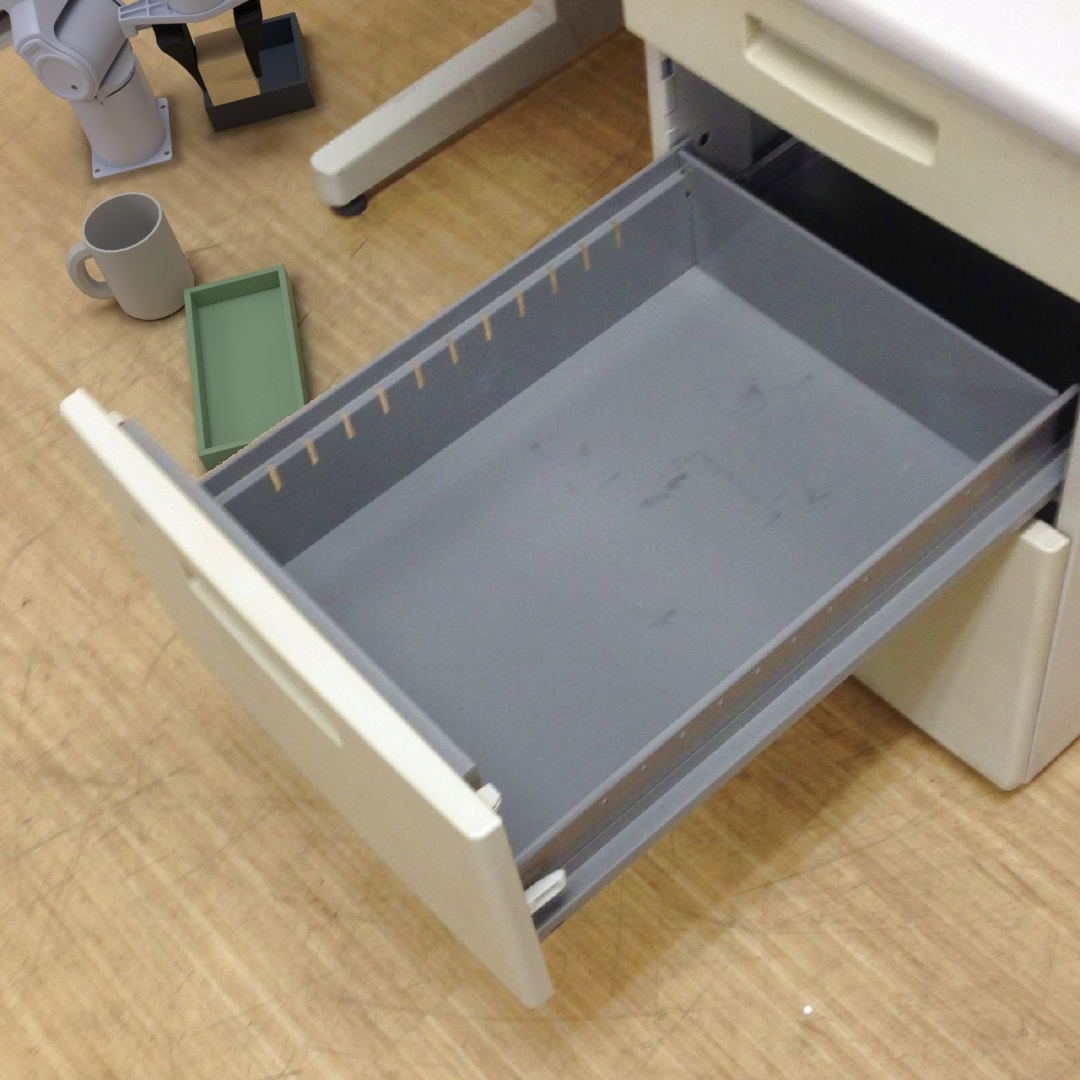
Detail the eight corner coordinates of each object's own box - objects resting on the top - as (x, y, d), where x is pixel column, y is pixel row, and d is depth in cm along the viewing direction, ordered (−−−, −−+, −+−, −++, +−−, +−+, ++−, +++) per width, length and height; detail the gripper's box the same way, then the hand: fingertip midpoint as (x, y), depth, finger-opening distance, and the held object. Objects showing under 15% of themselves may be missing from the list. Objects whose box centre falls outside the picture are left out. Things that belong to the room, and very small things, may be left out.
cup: (201, 308, 136) (166, 237, 129) (94, 340, 136) (53, 272, 129) (191, 253, 140) (157, 182, 133) (87, 285, 140) (47, 215, 133)
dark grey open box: (207, 64, 155) (196, 36, 152) (304, 40, 155) (294, 11, 152) (216, 135, 149) (204, 108, 146) (317, 110, 149) (307, 81, 146)
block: (209, 76, 141) (193, 36, 137) (255, 64, 141) (240, 24, 137) (213, 106, 138) (197, 67, 134) (260, 94, 138) (245, 54, 134)
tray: (192, 308, 136) (183, 289, 134) (291, 283, 136) (283, 263, 134) (208, 474, 126) (198, 456, 124) (316, 446, 126) (307, 428, 123)
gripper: (260, -101, 130) (303, 30, 141) (96, -57, 130) (152, 70, 141) (268, -53, 126) (313, 78, 137) (99, -8, 126) (157, 119, 137)
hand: (232, 77), depth 139 cm, fingers closed on block, 4 cm apart
